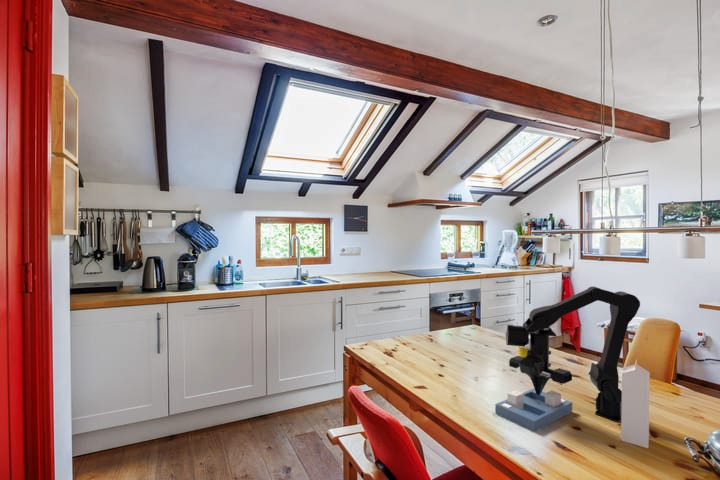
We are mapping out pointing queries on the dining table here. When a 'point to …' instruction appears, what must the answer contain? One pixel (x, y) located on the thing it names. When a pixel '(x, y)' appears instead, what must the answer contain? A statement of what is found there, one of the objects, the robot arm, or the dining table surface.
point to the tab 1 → (515, 399)
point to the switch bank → (533, 411)
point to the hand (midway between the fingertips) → (538, 394)
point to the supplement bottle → (524, 349)
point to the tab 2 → (553, 398)
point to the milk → (635, 405)
